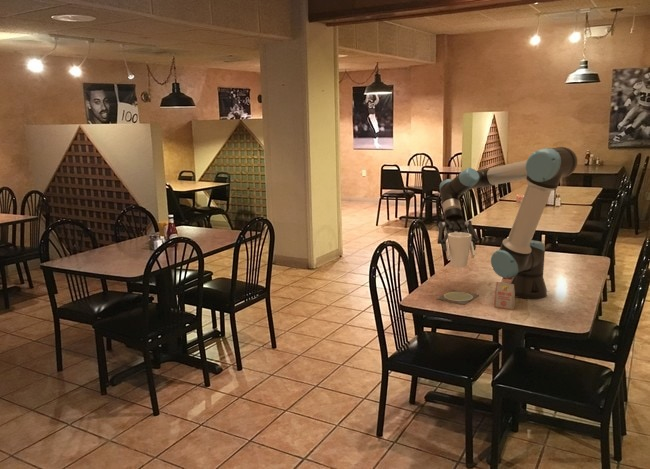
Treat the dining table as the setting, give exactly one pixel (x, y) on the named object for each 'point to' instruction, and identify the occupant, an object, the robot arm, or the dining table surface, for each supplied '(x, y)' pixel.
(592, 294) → the dining table surface
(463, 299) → the square coaster
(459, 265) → the foam cup
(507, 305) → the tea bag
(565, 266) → the dining table surface
